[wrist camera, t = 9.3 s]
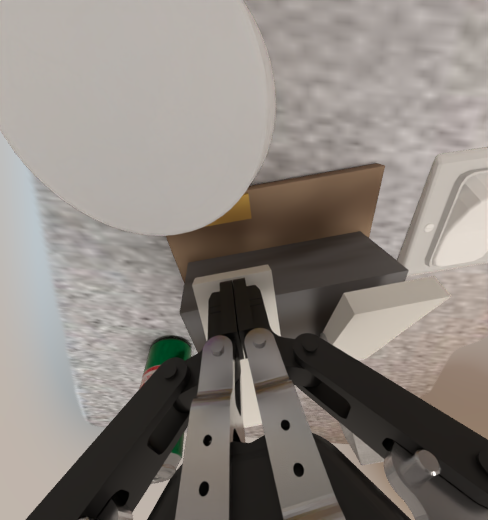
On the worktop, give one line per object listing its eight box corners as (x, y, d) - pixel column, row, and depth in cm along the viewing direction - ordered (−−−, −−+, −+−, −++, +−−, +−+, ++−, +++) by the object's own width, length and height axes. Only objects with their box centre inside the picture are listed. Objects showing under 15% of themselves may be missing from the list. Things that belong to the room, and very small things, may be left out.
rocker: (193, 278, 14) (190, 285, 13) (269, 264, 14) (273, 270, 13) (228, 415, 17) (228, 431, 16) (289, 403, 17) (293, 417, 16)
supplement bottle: (136, 152, 15) (-41, 245, 5) (139, 21, 12) (-554, -834, 1) (229, 177, 17) (257, 287, 6) (255, 69, 13) (415, -93, 3)
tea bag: (335, 391, 41) (365, 461, 33) (367, 387, 42) (405, 454, 34) (330, 400, 43) (357, 468, 35) (361, 396, 44) (395, 461, 36)
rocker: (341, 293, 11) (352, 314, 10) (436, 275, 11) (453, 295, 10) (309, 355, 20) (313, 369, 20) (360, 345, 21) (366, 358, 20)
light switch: (612, 136, 16) (516, 277, 22) (539, 135, 19) (475, 257, 26) (471, 157, 15) (416, 294, 22) (423, 152, 19) (388, 272, 25)
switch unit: (156, 202, 17) (128, 247, 11) (376, 163, 17) (457, 188, 12) (209, 338, 27) (208, 397, 22) (346, 311, 28) (381, 363, 22)
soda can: (179, 330, 26) (158, 463, 16) (198, 351, 29) (191, 475, 19) (142, 343, 26) (100, 479, 17) (165, 363, 29) (141, 489, 20)
